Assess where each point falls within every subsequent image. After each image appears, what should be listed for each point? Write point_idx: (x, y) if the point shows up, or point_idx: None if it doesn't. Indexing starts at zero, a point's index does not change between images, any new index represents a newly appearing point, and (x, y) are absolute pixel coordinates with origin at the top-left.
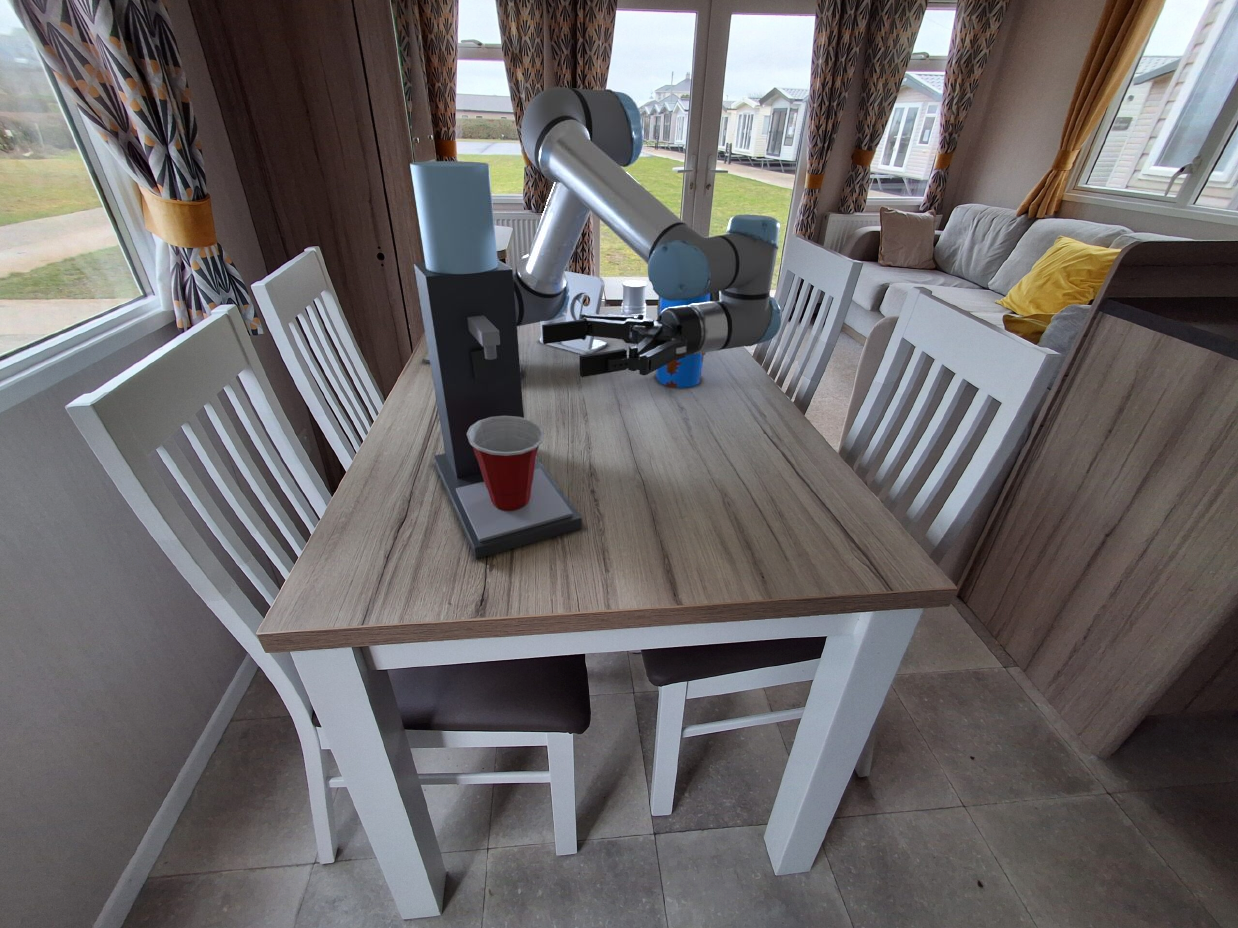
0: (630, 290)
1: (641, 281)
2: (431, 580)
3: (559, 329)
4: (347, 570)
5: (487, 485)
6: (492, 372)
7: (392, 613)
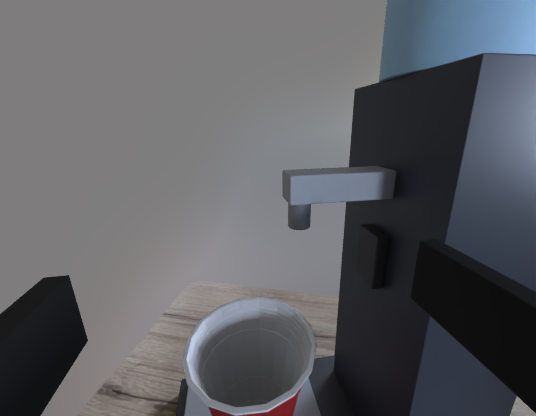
0: None
1: None
2: (179, 351)
3: (468, 293)
4: (226, 303)
5: (241, 371)
6: (372, 280)
7: (160, 328)
